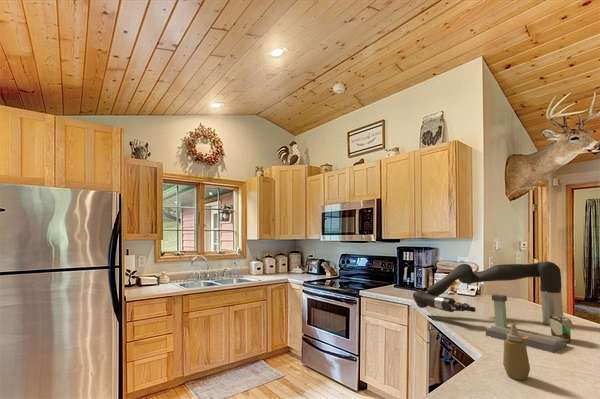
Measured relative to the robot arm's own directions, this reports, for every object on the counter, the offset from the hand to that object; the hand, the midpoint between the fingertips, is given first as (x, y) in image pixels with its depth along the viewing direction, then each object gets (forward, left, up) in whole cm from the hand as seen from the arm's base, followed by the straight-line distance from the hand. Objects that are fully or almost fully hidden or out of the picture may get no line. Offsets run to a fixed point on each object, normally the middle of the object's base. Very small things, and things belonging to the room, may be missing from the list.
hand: (474, 309), depth 176 cm
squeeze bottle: (+44, +40, -10) cm, 60 cm away
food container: (-16, +33, -10) cm, 38 cm away
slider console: (0, +23, -10) cm, 25 cm away
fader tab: (0, +13, -6) cm, 15 cm away
